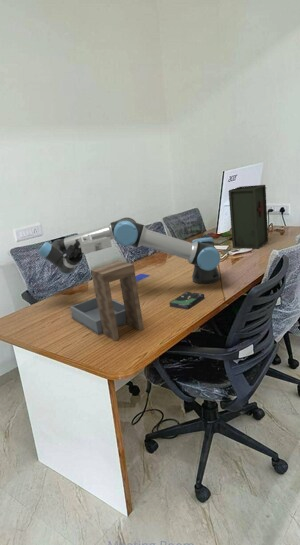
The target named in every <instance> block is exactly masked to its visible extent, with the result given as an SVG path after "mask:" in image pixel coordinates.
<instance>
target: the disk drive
mask: <svg viewBox="0 0 300 545" xmlns="http://www.w3.org/2000/svg"><path fill="white" fill-rule="evenodd" d="M203 300H205V294H204V293H199V292H191V291H185V292H183V293H182V294H181V295H179V296H177V297H176V298H174V299H172V300H171V301H169V307H170V308H175V309H181V310H183V309H184V310H187V311H188V310H189V309H191V308H192V307H194V306H195V305H197V304H199V302H201V301H203Z"/></svg>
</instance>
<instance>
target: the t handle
mask: <svg viewBox="0 0 300 545" xmlns="http://www.w3.org/2000/svg"><path fill="white" fill-rule="evenodd" d="M78 240H79V239H75V241H76V242H77V241H78ZM83 240H84V242H83V243H80V246H81V251H82V253H84V254H85V255H87V254H88V255H89V254H91V253H94V252H98V251H101V250H106V249H108V248H109V249H110V248H112V240H111V239H110V237H103V238H99V239H95V240H87V239H85V238H83Z"/></svg>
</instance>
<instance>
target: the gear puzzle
mask: <svg viewBox="0 0 300 545" xmlns="http://www.w3.org/2000/svg"><path fill="white" fill-rule="evenodd" d="M217 233H218V232H216V233H214V232H209V233H203V235H202V236H201V237H200V238H208V237H211V238H213V240H214V241H215V240H217V241H223V240H228V239H232V233H229V232H224V233H221V234H217Z"/></svg>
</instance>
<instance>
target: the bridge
mask: <svg viewBox="0 0 300 545" xmlns="http://www.w3.org/2000/svg"><path fill="white" fill-rule="evenodd" d="M90 272H91V277H92V283H93V287H94V288H93V289H94V293H95V298H96V299H97V304H98V309H99V315H100V320H101V325H102V330H103V333H102V334H103V335H105V336H106V337H108V338H109V339H111V340H113V341H114V342H115V341H118V340H120V336H119V331H118V327H117V324H116V318H115V313H114V307H113V302H112V299H113V296H112V292H111V287H110V283H113V282H116V281H118V280H119V283H120V284H119V285H120V290H121V296H122V301H123V304H124V308H125V314H126V319H127V323H126V324H127V325H129V326H131V327H133V328H135V329H137V330H138V331H141V330H143V329H144V327H145V326H144V323H143V317H142V314H143V313H142V308H141V303H140V298H139V296H140V295H139V291H138V284H137V283H138V282H137V283H136V271H135V267H134V263H133V264H132V263H130V262H125V261H121V260H120V261H117V262H113V263H109V264H106V265H103V266H100V267H97V268H93V269H91V270H90Z"/></svg>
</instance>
